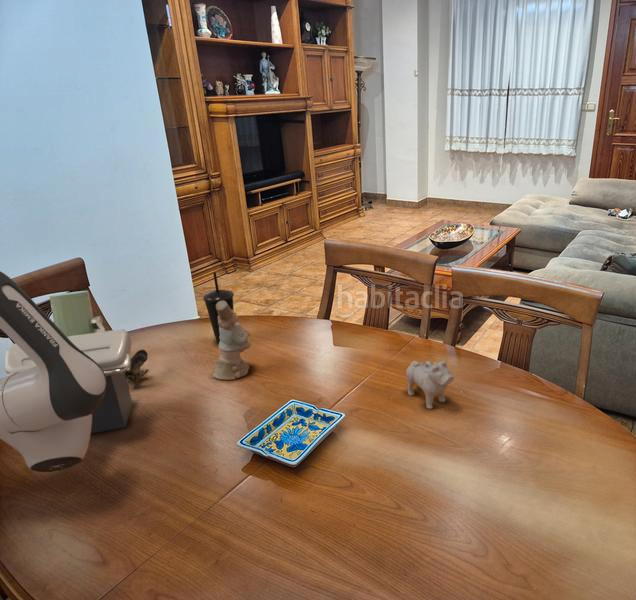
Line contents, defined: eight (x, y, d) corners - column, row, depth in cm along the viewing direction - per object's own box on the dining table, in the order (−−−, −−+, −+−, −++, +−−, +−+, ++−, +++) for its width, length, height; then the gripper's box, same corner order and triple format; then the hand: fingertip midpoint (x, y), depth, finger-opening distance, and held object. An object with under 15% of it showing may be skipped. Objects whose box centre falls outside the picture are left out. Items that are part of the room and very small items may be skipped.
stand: (64, 438, 102) (41, 368, 95) (76, 413, 110) (55, 346, 103) (125, 427, 104) (106, 358, 98) (132, 403, 112) (115, 338, 106)
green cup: (56, 294, 101) (65, 343, 103) (44, 297, 95) (54, 349, 96) (92, 289, 103) (101, 338, 104) (82, 292, 97) (92, 344, 98)
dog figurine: (441, 418, 105) (442, 373, 101) (402, 391, 115) (401, 349, 110) (459, 408, 108) (461, 364, 104) (420, 383, 118) (420, 342, 113)
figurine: (231, 385, 118) (218, 306, 111) (207, 376, 122) (193, 299, 115) (260, 369, 125) (249, 293, 118) (236, 360, 129) (224, 287, 122)
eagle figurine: (161, 378, 120) (156, 356, 126) (137, 362, 115) (133, 340, 122) (134, 399, 119) (131, 376, 126) (110, 384, 114) (107, 361, 121)
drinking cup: (210, 350, 135) (197, 279, 127) (212, 337, 142) (200, 269, 134) (240, 346, 137) (229, 275, 129) (240, 333, 144) (230, 266, 136)
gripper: (125, 363, 92) (128, 304, 100) (-7, 383, 87) (8, 319, 95) (135, 380, 97) (137, 322, 105) (10, 400, 92) (23, 338, 100)
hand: (74, 321), depth 100 cm, fingers closed on green cup, 6 cm apart
